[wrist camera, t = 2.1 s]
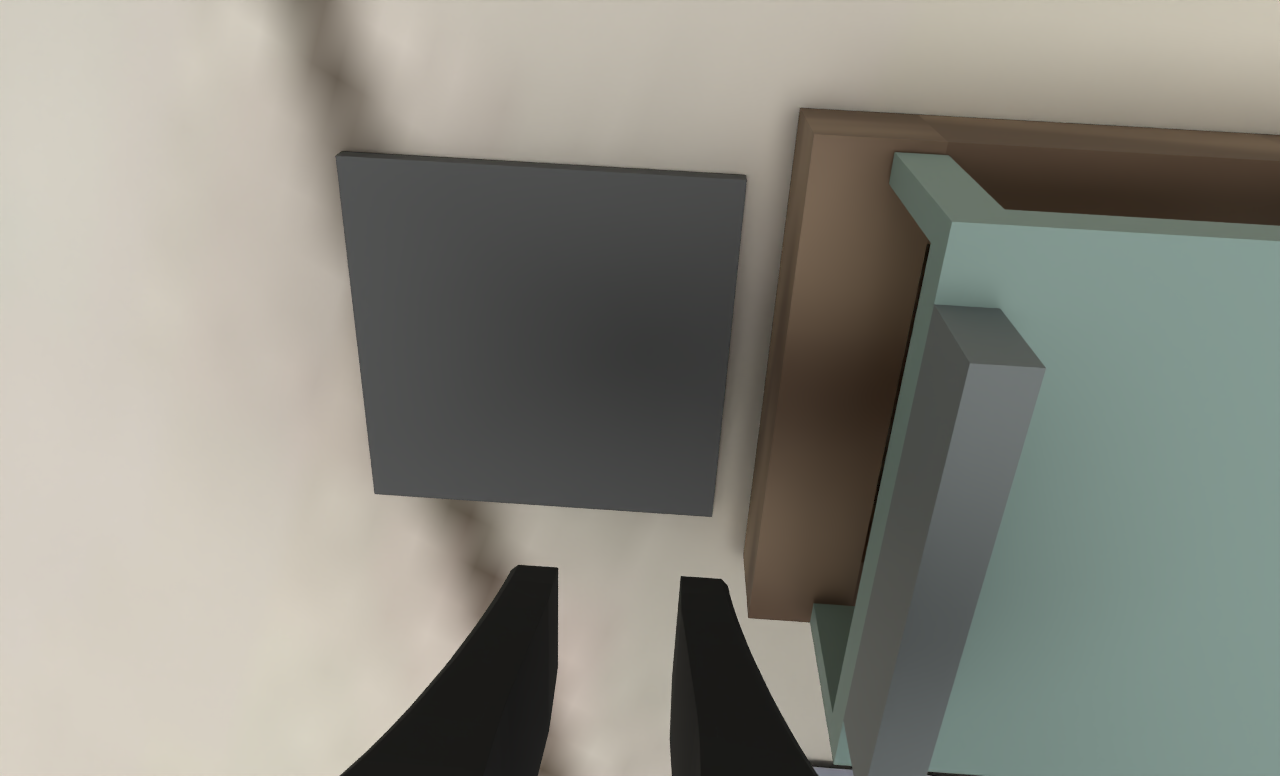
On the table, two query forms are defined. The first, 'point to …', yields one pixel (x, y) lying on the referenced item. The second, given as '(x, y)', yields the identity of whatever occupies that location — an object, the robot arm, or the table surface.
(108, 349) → the table surface
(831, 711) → the sliding cover
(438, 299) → the rubber mat
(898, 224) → the brown flat rectangular frame
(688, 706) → the robot arm
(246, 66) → the table surface
